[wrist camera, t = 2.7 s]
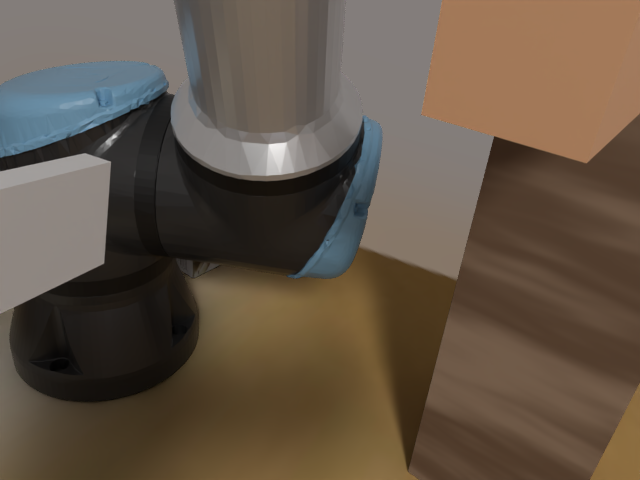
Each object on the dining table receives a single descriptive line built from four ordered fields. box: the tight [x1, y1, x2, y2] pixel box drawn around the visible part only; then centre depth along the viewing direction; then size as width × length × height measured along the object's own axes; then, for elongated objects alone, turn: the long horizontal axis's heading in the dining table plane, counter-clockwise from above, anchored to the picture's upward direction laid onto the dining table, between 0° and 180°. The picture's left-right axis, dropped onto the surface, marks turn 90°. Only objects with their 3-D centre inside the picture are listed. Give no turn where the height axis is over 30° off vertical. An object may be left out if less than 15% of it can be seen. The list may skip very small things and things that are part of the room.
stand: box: [408, 114, 640, 480], centre depth 34 cm, size 12×10×30 cm
